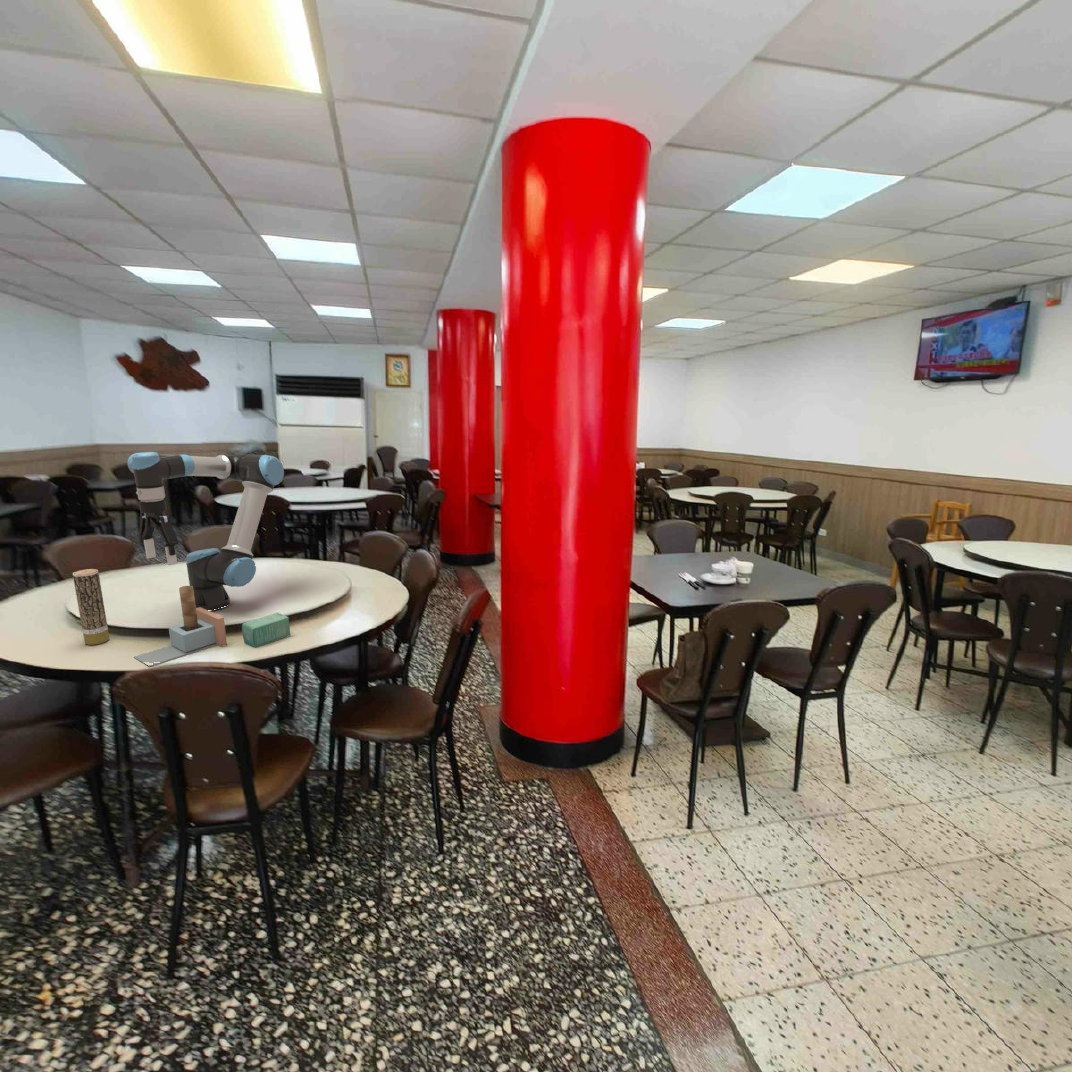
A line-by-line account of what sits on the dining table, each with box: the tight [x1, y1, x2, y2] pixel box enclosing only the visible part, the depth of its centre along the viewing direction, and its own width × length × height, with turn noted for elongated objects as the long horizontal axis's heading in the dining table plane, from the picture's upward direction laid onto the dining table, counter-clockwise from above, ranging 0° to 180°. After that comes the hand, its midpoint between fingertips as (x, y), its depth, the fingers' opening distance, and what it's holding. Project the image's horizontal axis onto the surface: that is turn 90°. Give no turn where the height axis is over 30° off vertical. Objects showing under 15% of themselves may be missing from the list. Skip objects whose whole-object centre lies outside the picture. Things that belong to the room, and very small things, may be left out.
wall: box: [196, 607, 228, 648], centre depth 201 cm, size 2×16×10 cm, turn 55°
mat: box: [133, 643, 218, 668], centre depth 193 cm, size 23×11×1 cm, turn 145°
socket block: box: [168, 619, 216, 652], centre depth 196 cm, size 10×10×6 cm
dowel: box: [178, 585, 198, 632], centre depth 194 cm, size 4×4×18 cm
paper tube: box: [72, 568, 110, 646], centre depth 196 cm, size 7×7×25 cm
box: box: [241, 612, 291, 648], centre depth 203 cm, size 7×14×8 cm, turn 144°
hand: (161, 560), depth 197 cm, fingers open, 13 cm apart
